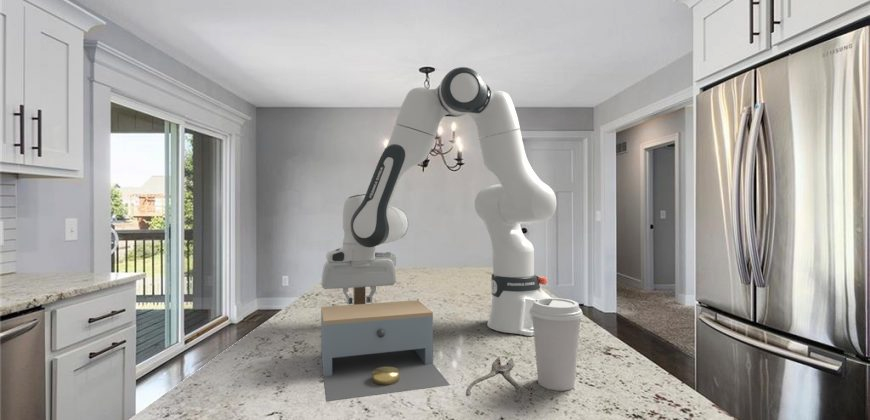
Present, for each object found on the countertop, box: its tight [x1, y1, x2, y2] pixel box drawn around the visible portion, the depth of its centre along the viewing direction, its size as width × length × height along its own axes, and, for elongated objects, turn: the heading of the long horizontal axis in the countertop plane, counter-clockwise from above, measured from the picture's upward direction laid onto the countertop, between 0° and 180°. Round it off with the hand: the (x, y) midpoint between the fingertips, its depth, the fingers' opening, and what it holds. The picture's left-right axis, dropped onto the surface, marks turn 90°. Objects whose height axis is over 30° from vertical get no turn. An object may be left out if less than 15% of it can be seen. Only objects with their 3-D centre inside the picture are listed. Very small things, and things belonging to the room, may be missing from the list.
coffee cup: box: [530, 297, 584, 392], centre depth 79 cm, size 10×10×15 cm
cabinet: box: [320, 299, 434, 377], centre depth 91 cm, size 22×13×11 cm, turn 107°
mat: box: [323, 349, 451, 402], centre depth 87 cm, size 22×25×1 cm
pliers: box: [466, 356, 522, 403], centre depth 82 cm, size 10×1×20 cm
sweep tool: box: [352, 287, 366, 305], centre depth 109 cm, size 8×23×13 cm, turn 17°
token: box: [372, 367, 399, 386], centre depth 80 cm, size 5×5×2 cm
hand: (359, 303), depth 118 cm, fingers open, 4 cm apart
